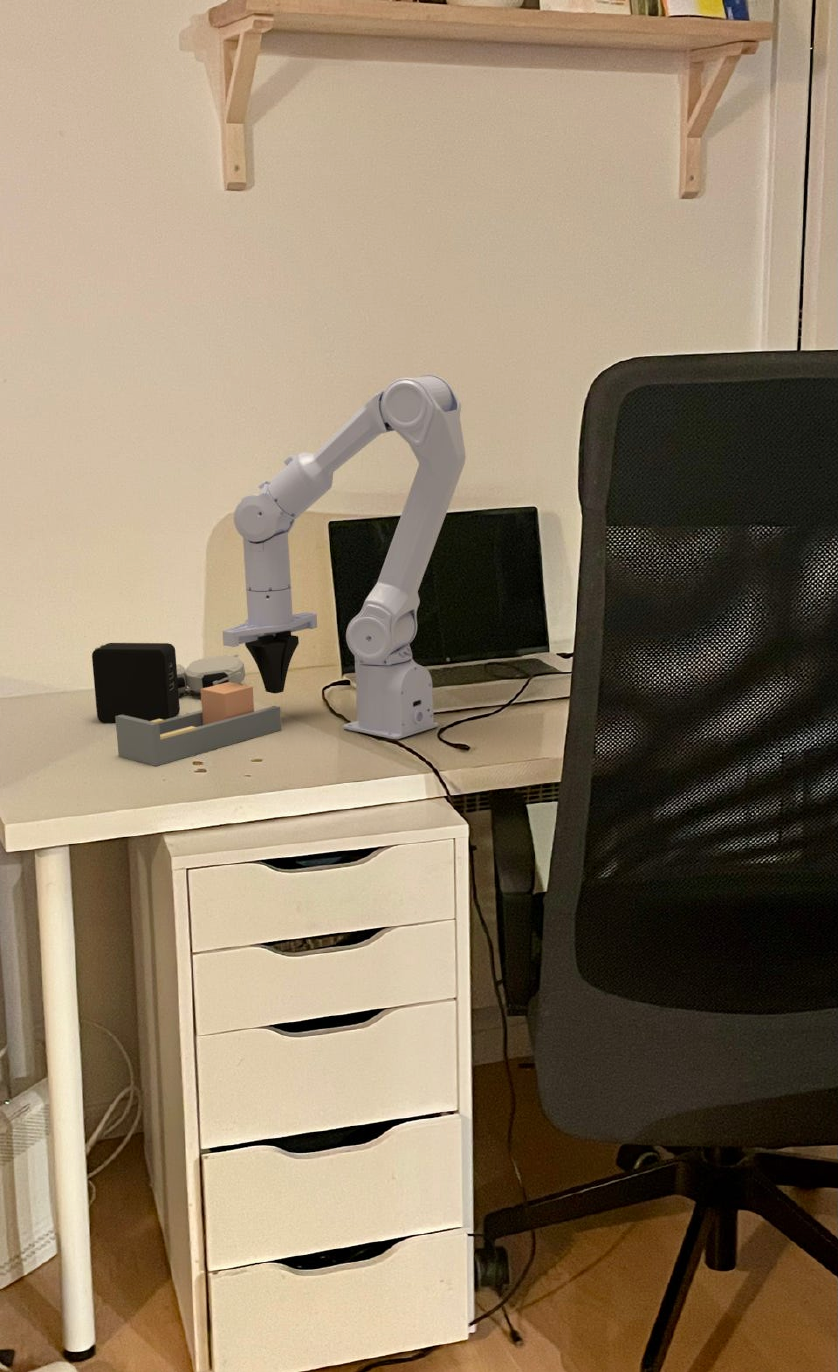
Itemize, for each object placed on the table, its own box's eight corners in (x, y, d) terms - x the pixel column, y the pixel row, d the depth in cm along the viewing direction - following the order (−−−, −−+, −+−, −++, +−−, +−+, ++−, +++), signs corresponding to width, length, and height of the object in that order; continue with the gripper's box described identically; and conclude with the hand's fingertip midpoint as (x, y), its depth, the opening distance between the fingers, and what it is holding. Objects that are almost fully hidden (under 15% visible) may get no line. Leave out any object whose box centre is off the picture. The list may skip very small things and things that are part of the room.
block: (231, 720, 194) (228, 681, 193) (255, 725, 191) (252, 686, 190) (203, 727, 191) (200, 689, 189) (227, 733, 187) (224, 694, 186)
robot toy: (139, 714, 207) (248, 698, 209) (134, 682, 206) (244, 667, 208) (142, 693, 219) (245, 679, 221) (137, 663, 218) (241, 649, 220)
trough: (243, 721, 197) (241, 684, 196) (281, 729, 192) (279, 691, 191) (118, 756, 183) (115, 716, 182) (155, 766, 178) (152, 725, 177)
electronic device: (169, 724, 197) (163, 649, 195) (97, 723, 199) (90, 649, 197) (180, 716, 201) (175, 643, 199) (110, 715, 203) (103, 642, 201)
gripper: (289, 577, 200) (294, 677, 203) (204, 593, 190) (211, 698, 193) (326, 581, 196) (331, 683, 199) (241, 598, 185) (247, 706, 188)
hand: (274, 691), depth 196 cm, fingers closed
